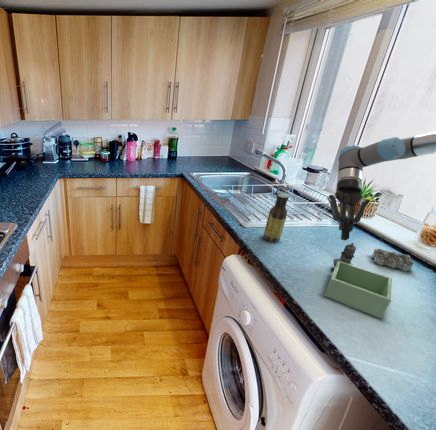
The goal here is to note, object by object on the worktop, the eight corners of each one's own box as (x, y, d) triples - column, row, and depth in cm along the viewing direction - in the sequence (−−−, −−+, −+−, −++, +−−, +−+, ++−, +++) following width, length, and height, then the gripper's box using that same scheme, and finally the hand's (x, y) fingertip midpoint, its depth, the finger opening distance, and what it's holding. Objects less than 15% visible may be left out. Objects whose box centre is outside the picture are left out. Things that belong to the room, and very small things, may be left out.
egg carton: (372, 263, 106) (377, 254, 104) (370, 254, 112) (374, 245, 110) (411, 273, 101) (416, 263, 99) (406, 263, 106) (411, 253, 105)
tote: (382, 294, 90) (391, 277, 87) (380, 318, 81) (391, 300, 78) (331, 276, 98) (338, 260, 95) (324, 295, 89) (331, 278, 86)
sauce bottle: (267, 233, 125) (279, 191, 117) (281, 239, 121) (295, 195, 112) (259, 238, 121) (271, 194, 113) (274, 244, 117) (288, 199, 109)
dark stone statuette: (329, 265, 104) (341, 236, 99) (349, 270, 101) (362, 241, 96) (330, 273, 100) (342, 244, 95) (351, 279, 97) (365, 249, 92)
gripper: (364, 189, 112) (361, 245, 105) (325, 184, 117) (320, 238, 110) (374, 180, 106) (372, 239, 99) (333, 175, 110) (327, 231, 104)
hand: (345, 238), depth 104 cm, fingers closed
